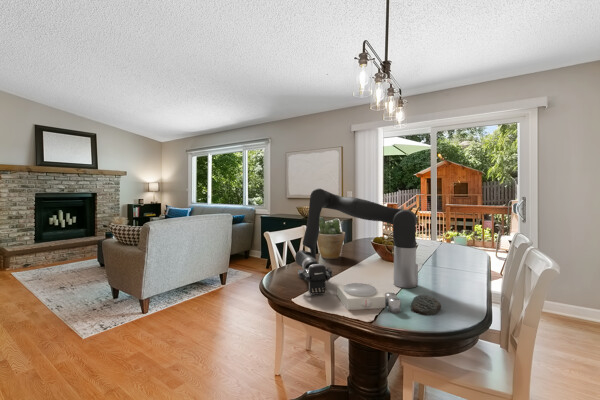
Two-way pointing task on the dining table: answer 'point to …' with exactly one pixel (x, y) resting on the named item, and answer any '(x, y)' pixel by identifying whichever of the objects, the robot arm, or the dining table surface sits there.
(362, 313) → the dining table surface
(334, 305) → the dining table surface
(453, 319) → the dining table surface
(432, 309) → the fossil
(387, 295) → the spacer
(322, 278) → the battery
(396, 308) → the spacer
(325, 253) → the potted plant
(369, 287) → the scale
